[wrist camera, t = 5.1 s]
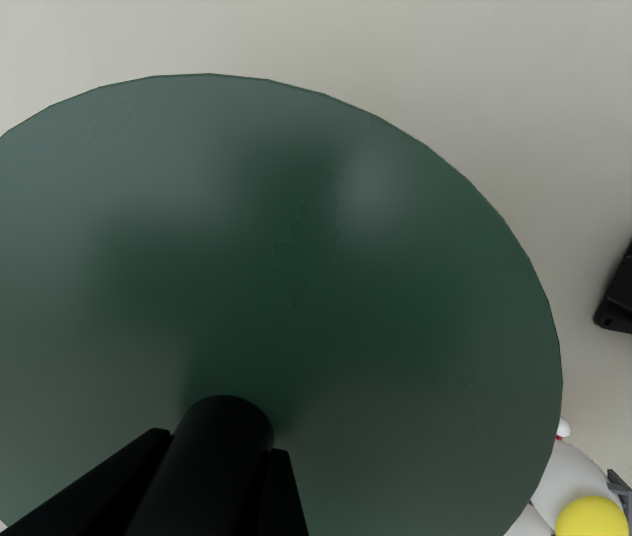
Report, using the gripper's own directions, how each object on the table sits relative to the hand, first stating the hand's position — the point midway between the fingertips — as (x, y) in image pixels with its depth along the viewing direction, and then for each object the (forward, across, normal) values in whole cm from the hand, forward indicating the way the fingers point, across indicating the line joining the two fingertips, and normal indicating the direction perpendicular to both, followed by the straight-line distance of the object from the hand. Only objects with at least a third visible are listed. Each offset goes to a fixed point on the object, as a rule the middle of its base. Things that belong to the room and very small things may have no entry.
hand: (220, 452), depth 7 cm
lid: (+1, 0, 0) cm, 1 cm away
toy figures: (+13, -17, +9) cm, 23 cm away
